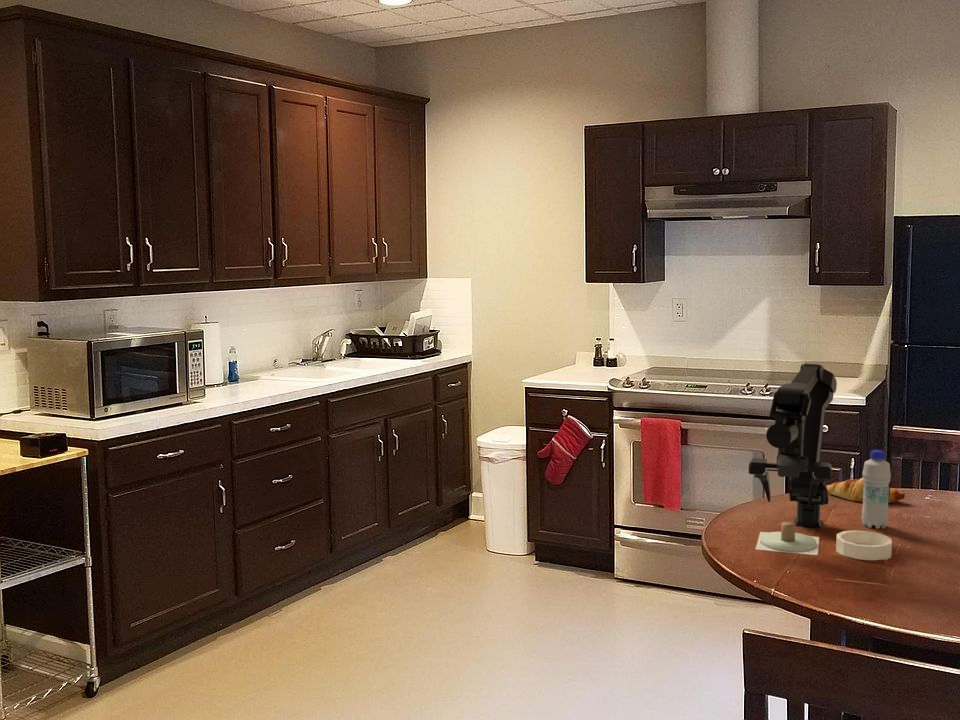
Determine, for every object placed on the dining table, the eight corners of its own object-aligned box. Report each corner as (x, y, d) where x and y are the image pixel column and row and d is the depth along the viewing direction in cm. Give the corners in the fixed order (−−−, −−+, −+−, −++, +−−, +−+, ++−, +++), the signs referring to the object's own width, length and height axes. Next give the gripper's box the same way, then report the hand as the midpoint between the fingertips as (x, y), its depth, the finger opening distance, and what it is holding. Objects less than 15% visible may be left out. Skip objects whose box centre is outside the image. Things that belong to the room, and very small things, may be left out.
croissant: (822, 508, 279) (819, 487, 275) (830, 484, 286) (827, 463, 282) (902, 517, 267) (900, 495, 263) (908, 492, 274) (906, 470, 270)
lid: (762, 532, 245) (762, 514, 245) (817, 537, 241) (817, 518, 240) (757, 548, 233) (758, 529, 232) (815, 554, 229) (816, 534, 228)
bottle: (884, 523, 252) (887, 447, 250) (892, 531, 246) (895, 453, 243) (857, 522, 253) (859, 446, 250) (864, 530, 247) (867, 452, 244)
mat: (760, 533, 246) (760, 531, 246) (819, 538, 241) (819, 537, 241) (755, 550, 233) (755, 549, 233) (817, 556, 228) (817, 555, 228)
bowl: (836, 542, 238) (836, 528, 237) (889, 547, 234) (890, 533, 233) (835, 558, 227) (836, 543, 226) (892, 563, 222) (892, 548, 222)
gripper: (747, 444, 229) (745, 509, 231) (831, 449, 223) (829, 516, 225) (751, 434, 240) (750, 496, 242) (832, 439, 233) (830, 502, 235)
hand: (789, 503), depth 236 cm, fingers open, 9 cm apart
